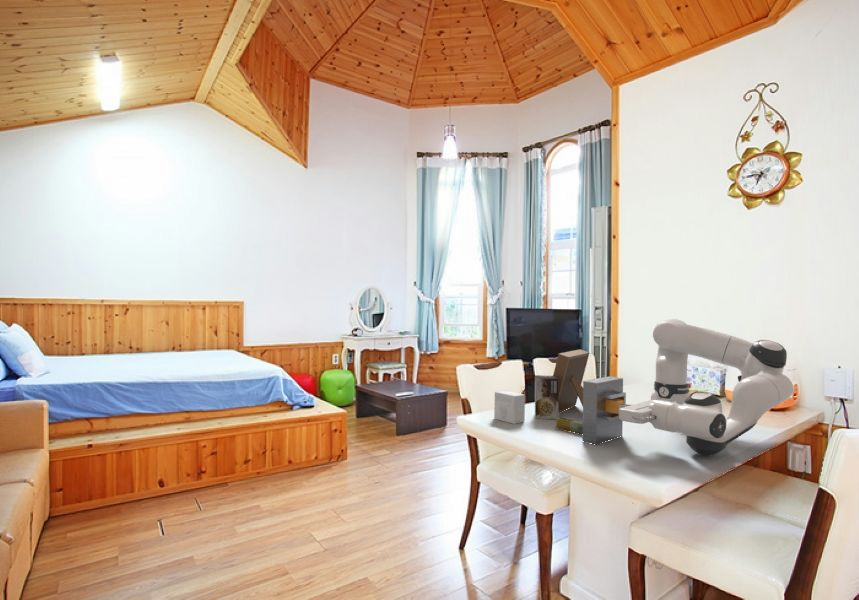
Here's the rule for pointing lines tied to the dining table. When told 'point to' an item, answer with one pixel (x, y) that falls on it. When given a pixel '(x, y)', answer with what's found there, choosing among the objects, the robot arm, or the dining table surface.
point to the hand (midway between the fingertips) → (620, 406)
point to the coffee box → (546, 397)
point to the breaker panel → (601, 409)
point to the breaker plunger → (613, 405)
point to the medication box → (569, 425)
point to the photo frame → (570, 377)
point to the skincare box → (509, 407)
